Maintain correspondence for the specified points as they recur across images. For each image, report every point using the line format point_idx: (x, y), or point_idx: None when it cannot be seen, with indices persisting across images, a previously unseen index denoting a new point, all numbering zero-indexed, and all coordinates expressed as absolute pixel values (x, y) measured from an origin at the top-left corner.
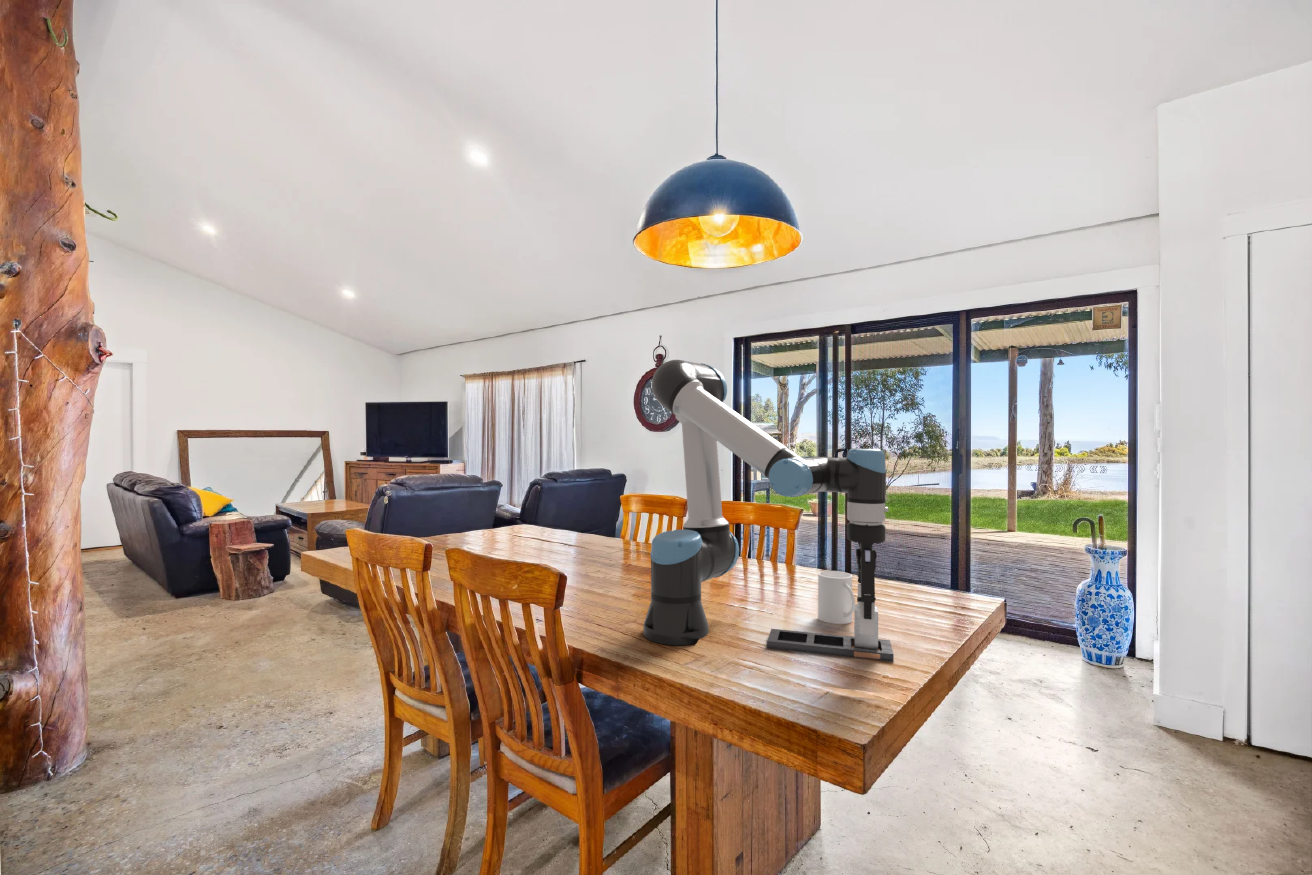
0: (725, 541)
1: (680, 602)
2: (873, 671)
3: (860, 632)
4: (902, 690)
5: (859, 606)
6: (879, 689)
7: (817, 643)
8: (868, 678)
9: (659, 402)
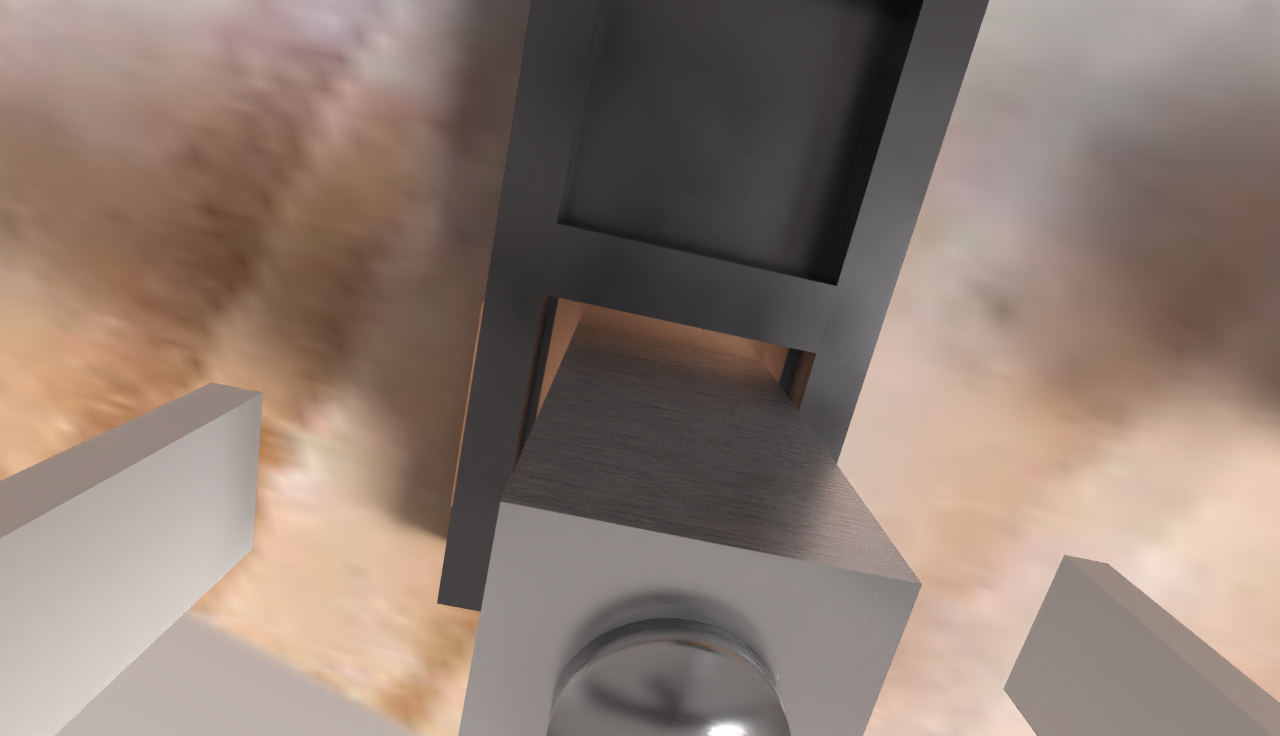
0: None
1: None
2: (345, 388)
3: (201, 394)
4: None
5: (686, 633)
6: (12, 341)
7: (839, 16)
8: (196, 316)
9: None
